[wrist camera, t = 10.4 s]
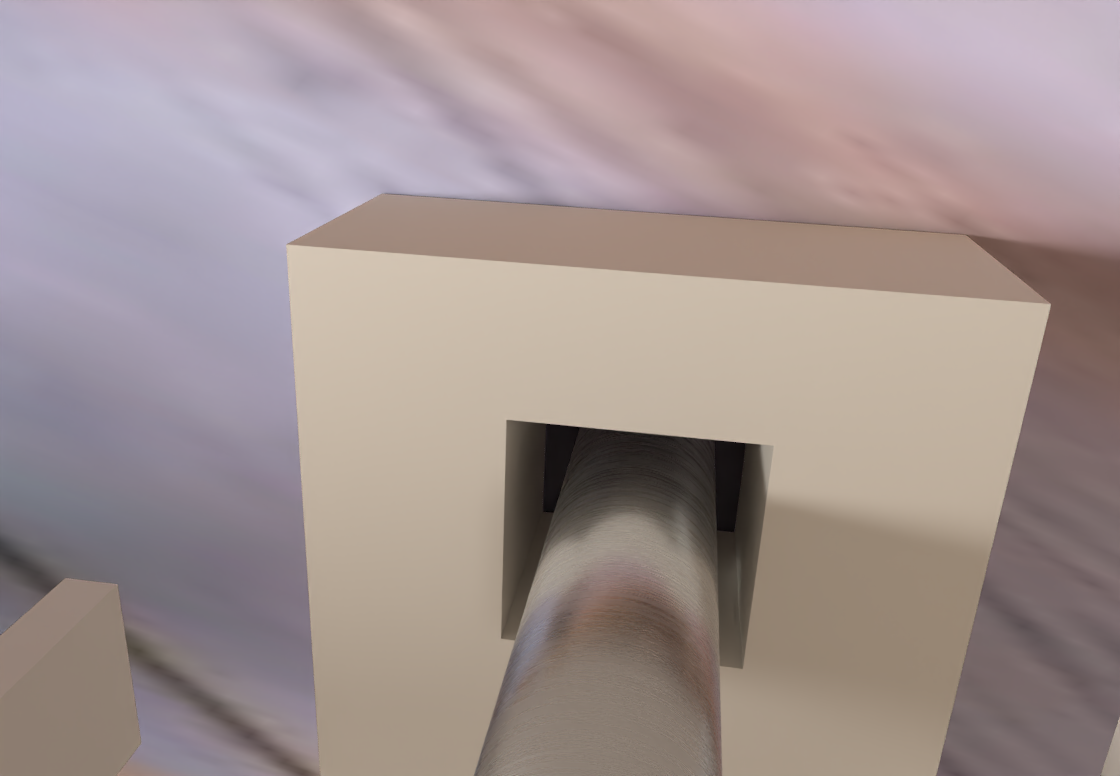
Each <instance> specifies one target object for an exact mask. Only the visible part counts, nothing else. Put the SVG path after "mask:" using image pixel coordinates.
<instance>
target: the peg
mask: <svg viewBox="0 0 1120 776" xmlns="http://www.w3.org/2000/svg"><path fill="white" fill-rule="evenodd" d="M474 776H722V745H721V700H720V656H719V612H718V567H717V523H716V478H715V440H710V439H700V438H689V437H679V436H669V435H659V434H648V433H638V432H628V431H618V430H607V429H597V428H587V427H580V429H579V432H578V435H577V438H576V442H575V445H574V448H573V452H572V455H571V458H570V461H569V465H568V468H567V471H566V475H565V478H564V481H563V484H562V488H561V491H560V494H559V498H558V501H557V504H556V507H555V511H554V514H553V517H552V521H551V524H550V527H549V530H548V534H547V537H546V540H545V544H544V547H543V550H542V553H541V557H540V560H539V563H538V567H537V570H536V573H535V576H534V580H533V583H532V586H531V590H530V593H529V596H528V599H527V603H526V606H525V609H524V613H523V616H522V619H521V622H520V626H519V629H518V632H517V636H516V639H515V642H514V645H513V649H512V652H511V655H510V659H509V662H508V665H507V668H506V672H505V675H504V678H503V682H502V685H501V688H500V691H499V695H498V698H497V701H496V705H495V708H494V711H493V714H492V718H491V721H490V724H489V728H488V731H487V734H486V737H485V741H484V744H483V747H482V751H481V754H480V757H479V760H478V764H477V767H476V770H475V774H474Z"/></svg>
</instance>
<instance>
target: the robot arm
mask: <svg viewBox="0 0 1120 776" xmlns="http://www.w3.org/2000/svg"><path fill="white" fill-rule="evenodd" d="M140 744H141V737H140V730H139V724H138V717H137V710H136V704H135V697H134V690H133V684H132V677H131V670H130V664H129V657H128V650H127V644H126V637H125V630H124V624H123V617H122V610H121V604H120V597H119V590H118V584H112V583H104V582H95V581H87V580H78V579H70V578H65V579H64V580H63V581H62V582H60V583H59V584H58V585H57V586H56V587H55V588H54V589H52V590H51V591H50V592H49V593H48V594H47V595H46V596H45V597H43V598H42V599H41V600H40V601H39V602H38V603H37V604H35V605H34V606H33V607H32V608H31V609H30V610H29V611H28V612H26V613H25V614H24V615H23V616H22V617H21V618H20V619H19V620H17V621H16V622H15V623H14V624H13V625H12V626H11V627H9V628H8V629H7V630H6V631H5V632H4V633H3V634H2V635H0V776H116V775H117V774H118V773H119V772H120V770H121V769H122V768H123V766H124V765H125V764H126V762H127V761H128V760H129V759H130V757H131V756H132V755H133V753H134V752H135V751H136V749H137V748H138V747H139V745H140ZM1100 776H1120V717H1119V720H1118V723H1117V726H1116V729H1115V732H1114V736H1113V739H1112V742H1111V745H1110V748H1109V751H1108V754H1107V757H1106V760H1105V763H1104V766H1103V769H1102V772H1101V775H1100Z"/></svg>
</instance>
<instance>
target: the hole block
mask: <svg viewBox="0 0 1120 776" xmlns="http://www.w3.org/2000/svg"><path fill="white" fill-rule="evenodd" d="M286 247H287V263H288V279H289V294H290V310H291V326H292V342H293V357H294V373H295V389H296V404H297V420H298V436H299V451H300V467H301V483H302V498H303V514H304V530H305V546H306V561H307V577H308V593H309V608H310V624H311V640H312V655H313V671H314V687H315V703H316V718H317V734H318V750H319V765H320V776H474V774H475V770H476V767H477V764H478V760H479V757H480V754H481V751H482V747H483V744H484V741H485V737H486V734H487V731H488V728H489V724H490V721H491V718H492V714H493V711H494V708H495V705H496V701H497V698H498V695H499V691H500V688H501V685H502V682H503V678H504V675H505V672H506V668H507V665H508V662H509V659H510V655H511V652H512V649H513V645H514V642H515V639H516V636H517V632H518V629H519V626H520V622H521V619H522V616H523V613H524V609H525V606H526V603H527V599H528V596H529V593H530V590H531V586H532V583H533V580H534V576H535V573H536V570H537V567H538V563H539V560H540V557H541V553H542V550H543V547H544V544H545V540H546V537H547V534H548V530H549V527H550V524H551V521H552V517H553V514H554V513H550V512H543V494H544V470H545V446H546V424H556V425H566V426H577V427H587V428H597V429H607V430H618V431H628V432H638V433H648V434H659V435H669V436H679V437H689V438H700V439H710V440H720V441H731V442H741V443H746V446H745V454H744V462H743V470H742V478H741V485H740V493H739V501H738V509H737V517H736V525H735V532H726V531H717V567H718V612H719V656H720V700H721V745H722V776H936V774H937V770H938V766H939V762H940V758H941V754H942V750H943V746H944V742H945V737H946V733H947V729H948V725H949V721H950V717H951V713H952V709H953V705H954V701H955V696H956V692H957V688H958V684H959V680H960V676H961V672H962V668H963V664H964V660H965V656H966V651H967V647H968V643H969V639H970V635H971V631H972V627H973V623H974V619H975V615H976V610H977V606H978V602H979V598H980V594H981V590H982V586H983V582H984V578H985V574H986V569H987V565H988V561H989V557H990V553H991V549H992V545H993V541H994V537H995V533H996V529H997V524H998V520H999V516H1000V512H1001V508H1002V504H1003V500H1004V496H1005V492H1006V488H1007V483H1008V479H1009V475H1010V471H1011V467H1012V463H1013V459H1014V455H1015V451H1016V447H1017V442H1018V438H1019V434H1020V430H1021V426H1022V422H1023V418H1024V414H1025V410H1026V406H1027V402H1028V397H1029V393H1030V389H1031V385H1032V381H1033V377H1034V373H1035V369H1036V365H1037V361H1038V356H1039V352H1040V348H1041V344H1042V340H1043V336H1044V332H1045V328H1046V324H1047V320H1048V315H1049V311H1050V307H1051V304H1050V303H1049V302H1048V301H1047V300H1046V299H1044V298H1043V297H1042V296H1041V295H1039V294H1038V293H1037V292H1036V291H1034V290H1033V289H1032V288H1031V287H1029V286H1028V285H1027V284H1026V283H1025V282H1023V281H1022V280H1021V279H1020V278H1018V277H1017V276H1016V275H1015V274H1013V273H1012V272H1011V271H1010V270H1008V269H1007V268H1006V267H1005V266H1004V265H1002V264H1001V263H1000V262H999V261H997V260H996V259H995V258H994V257H992V256H991V255H990V254H989V253H987V252H986V251H985V250H984V249H983V248H981V247H980V246H979V245H978V244H976V243H975V242H974V241H973V240H971V239H970V238H969V237H968V236H967V235H961V234H947V233H933V232H918V231H904V230H890V229H876V228H862V227H848V226H833V225H819V224H805V223H791V222H777V221H762V220H748V219H734V218H720V217H706V216H692V215H677V214H663V213H649V212H635V211H621V210H606V209H592V208H578V207H564V206H550V205H536V204H521V203H507V202H493V201H479V200H465V199H450V198H436V197H422V196H408V195H394V194H380V195H379V196H377V197H375V198H373V199H371V200H369V201H367V202H365V203H364V204H362V205H360V206H358V207H356V208H354V209H352V210H350V211H348V212H347V213H345V214H343V215H341V216H339V217H337V218H335V219H333V220H332V221H330V222H328V223H326V224H324V225H322V226H320V227H318V228H317V229H315V230H313V231H311V232H309V233H307V234H305V235H303V236H302V237H300V238H298V239H296V240H294V241H292V242H290V243H288V244H287V245H286Z"/></svg>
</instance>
